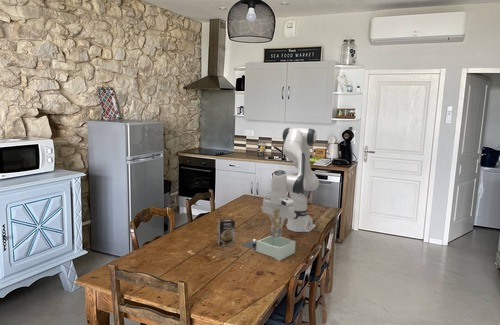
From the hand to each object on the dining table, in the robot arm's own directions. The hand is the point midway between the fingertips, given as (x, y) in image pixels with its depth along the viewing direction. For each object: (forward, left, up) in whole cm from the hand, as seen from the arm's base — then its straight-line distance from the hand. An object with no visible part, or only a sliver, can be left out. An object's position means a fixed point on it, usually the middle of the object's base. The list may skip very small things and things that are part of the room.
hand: (277, 223), depth 213 cm
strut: (0, 0, -8) cm, 8 cm away
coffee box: (+12, -28, -18) cm, 35 cm away
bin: (0, 0, -18) cm, 18 cm away
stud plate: (+1, -15, -18) cm, 23 cm away
